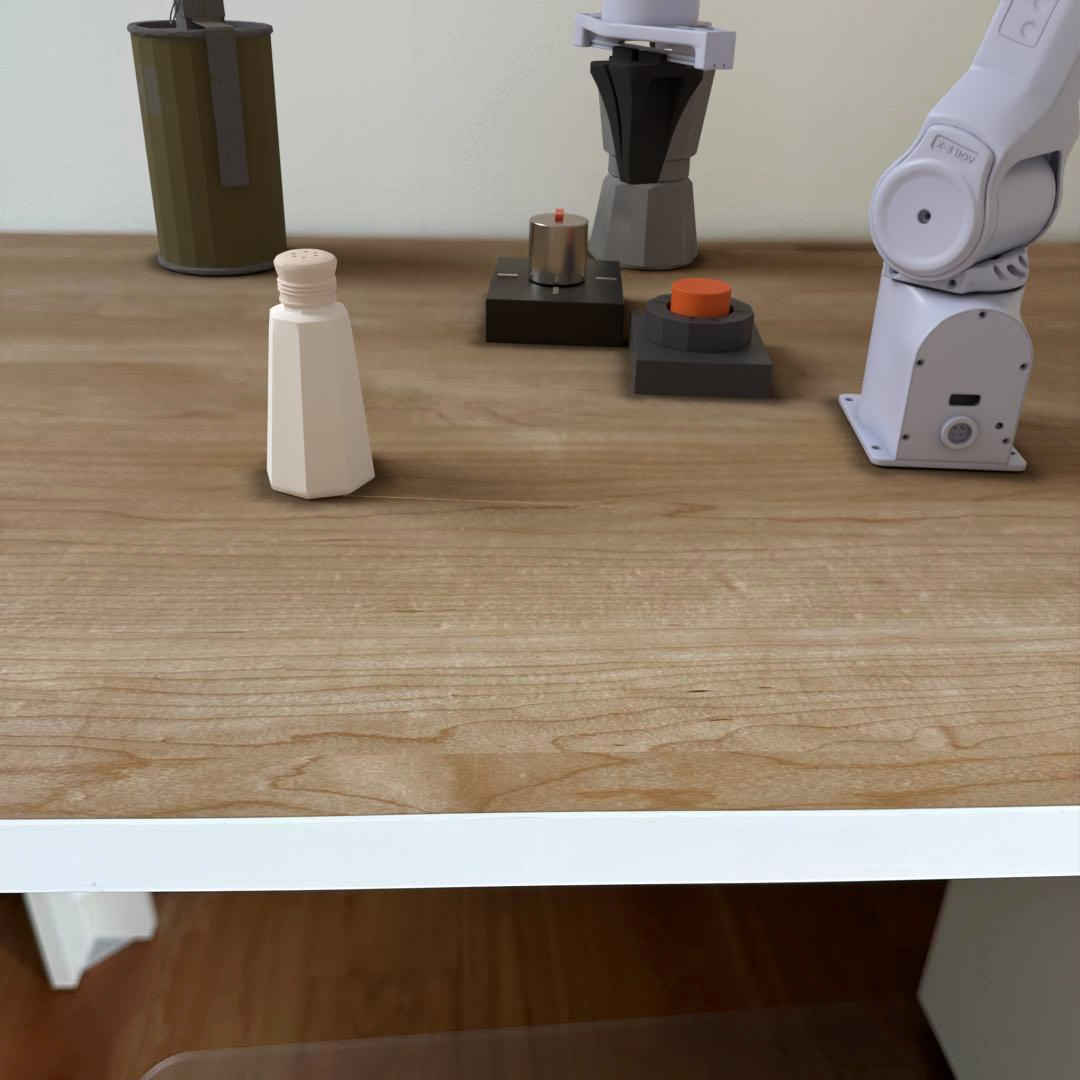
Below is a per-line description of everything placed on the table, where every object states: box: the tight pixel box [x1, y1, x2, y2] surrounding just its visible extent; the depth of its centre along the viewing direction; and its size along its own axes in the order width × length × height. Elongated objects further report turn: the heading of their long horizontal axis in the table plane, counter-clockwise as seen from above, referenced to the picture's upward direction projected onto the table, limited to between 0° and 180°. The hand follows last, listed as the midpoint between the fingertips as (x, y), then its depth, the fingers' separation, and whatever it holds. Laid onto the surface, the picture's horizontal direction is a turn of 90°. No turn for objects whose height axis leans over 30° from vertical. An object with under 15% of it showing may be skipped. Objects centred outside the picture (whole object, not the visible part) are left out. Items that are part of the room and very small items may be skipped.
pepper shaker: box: [266, 248, 376, 500], centre depth 54 cm, size 5×5×11 cm
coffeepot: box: [587, 42, 717, 271], centre depth 93 cm, size 15×9×18 cm, turn 176°
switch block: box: [627, 293, 774, 400], centre depth 71 cm, size 10×8×4 cm
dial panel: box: [485, 256, 625, 348], centre depth 79 cm, size 11×9×3 cm
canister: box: [126, 0, 290, 277], centre depth 87 cm, size 11×10×20 cm
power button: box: [670, 277, 733, 318], centre depth 70 cm, size 4×4×2 cm
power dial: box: [527, 208, 589, 286], centre depth 78 cm, size 4×4×4 cm
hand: (638, 182), depth 71 cm, fingers closed
